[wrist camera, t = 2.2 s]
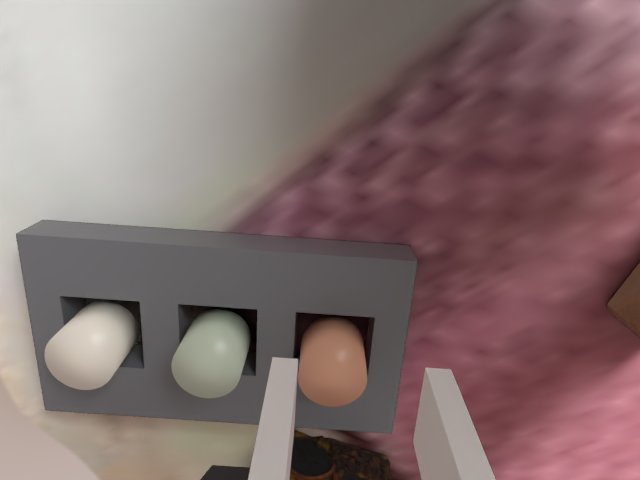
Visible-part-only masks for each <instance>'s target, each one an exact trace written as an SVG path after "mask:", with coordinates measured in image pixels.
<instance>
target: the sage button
mask: <svg viewBox="0 0 640 480" xmlns="http://www.w3.org/2000/svg"><path fill="white" fill-rule="evenodd" d="M250 342H251V333H250V329H249V327H248V325H247V323H246V322H245V321H244V319H243V318H242V317H240V316H239V315H238V314H236V313H234V312H232V311H230V310H226V309H221V308H215V309H209V310H206V311H203V312H202V313H200V314H199V315H197V316H196V317H195V319H194V320H193V321H192V323H191V325H190V327H189V329H188V331H187V332H186V334H185V336H184V338H183V340H182V342H181V343H180V345H179V347H178V349H177V351H176V353H175V354H174V356H173V359H172V364H171V368H172V373H173V376H174V378H175V380H176V382H177V383H178V384H179V386H180V387H181V388H183V389H184V390H185V391H187V392H188V393H190V394H192V395H194V396H197V397H201V398H218V397H222V396H224V395H226V394H228V393H230V392H231V391H232V390H233V389H234V388H235V387H236V386H237V384H238V383H239V380H240V377H241V374H242V370H243V367H244V363H245V360H246V356H247V353H248V350H249V346H250Z"/></svg>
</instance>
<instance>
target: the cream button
mask: <svg viewBox="0 0 640 480" xmlns="http://www.w3.org/2000/svg"><path fill="white" fill-rule="evenodd" d="M138 336H139V329H138V324H137V322H136V320H135V318H134V316H133V315H132V314H131V313H130V312H129V311H128V310H127V309H126V308H124V307H123V306H121V305H119V304H117V303H114V302H111V301H95V302H92V303H89V304H87V305H86V306H85V307H83V308H82V309H81V310H80V311H79V312H78V313H77V314H76V315H75V316H74V317H73V318H72V319H71V320H70V321H69V322H68V323H67V324H66V325H65V326H64V327H63V328H62V329H61V330H60V331H59V332H58V333H56V334H55V335H54V336H53V337H52V338H51V339H50V340H49V342H48V343H47V345H46V348H45V353H44V357H45V362H46V365H47V367H48V369H49V371H50V372H51V374H52V375H53V376H54V377H55V378H56V379H57V380H59V381H60V382H61V383H63V384H65V385H67V386H69V387H72V388H75V389H79V390H93V389H97V388H100V387H102V386H103V385H105V384H106V383H107V382H108V381H109V380H110V379H111V377H112V376H113V375H114V373H115V372H116V370H117V369H118V368H119V366H120V365H121V363H122V362H123V361H124V359H125V358H126V356H127V355H128V354H129V352H130V351H131V349H132V348H133V346H134V345H135V344H136V342H137V340H138Z"/></svg>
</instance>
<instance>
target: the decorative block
mask: <svg viewBox="0 0 640 480" xmlns="http://www.w3.org/2000/svg"><path fill="white" fill-rule="evenodd" d="M607 307H608V311H609V312H611V313H612V314H613V315H614V316H615V317H616V318H618V319H619V320H620V321H621V322H622V323H623V324H624V325H626V326H627V327H628V328H629V329H630V330H631V331H632V332H634V333H635V334H636V335H637V336H638V337H639V338H640V263H639V264H638V265H637V266H636V268H635V269H634V270H633V272H632V273H631V274H630V275H629V277H628V278H627V279H626V281H625V282H624V283H623V284H622V286H621V287H620V288H619V290H618V291H617V292H616V293H615V295H614V296H613V297H612V299H611V300H610V301H609V302H608V304H607Z"/></svg>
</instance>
